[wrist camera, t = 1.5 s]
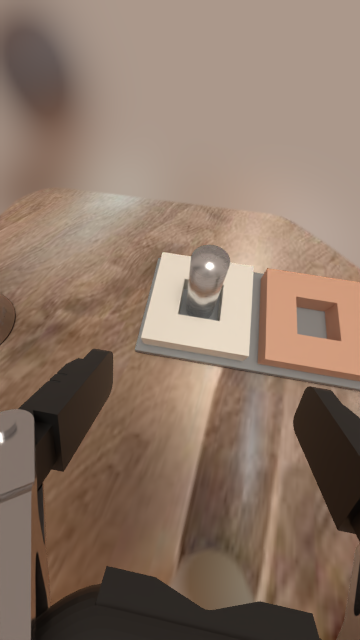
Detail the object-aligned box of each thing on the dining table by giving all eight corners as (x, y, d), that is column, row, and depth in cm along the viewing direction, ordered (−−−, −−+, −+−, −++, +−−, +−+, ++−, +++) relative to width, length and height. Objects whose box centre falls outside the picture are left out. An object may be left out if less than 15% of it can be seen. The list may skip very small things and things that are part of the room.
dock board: (136, 351, 28) (131, 343, 25) (159, 262, 34) (157, 245, 31) (363, 391, 27) (389, 388, 24) (349, 291, 32) (369, 278, 29)
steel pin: (183, 318, 29) (187, 273, 20) (188, 294, 31) (193, 242, 21) (211, 322, 29) (228, 279, 20) (214, 298, 30) (231, 247, 21)
